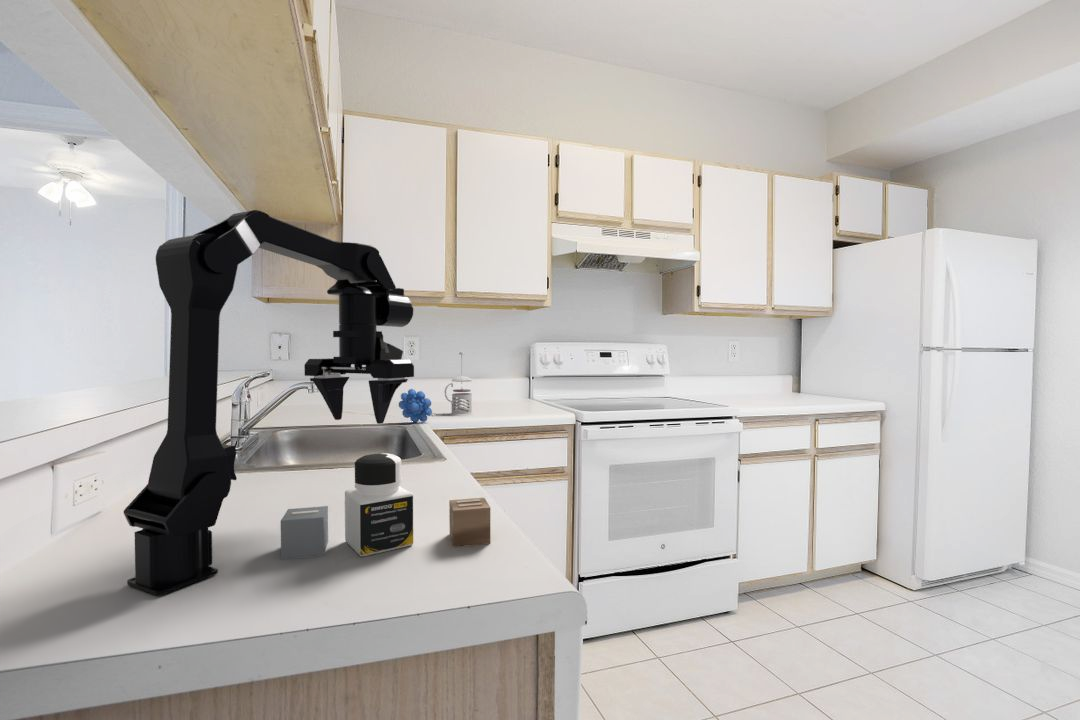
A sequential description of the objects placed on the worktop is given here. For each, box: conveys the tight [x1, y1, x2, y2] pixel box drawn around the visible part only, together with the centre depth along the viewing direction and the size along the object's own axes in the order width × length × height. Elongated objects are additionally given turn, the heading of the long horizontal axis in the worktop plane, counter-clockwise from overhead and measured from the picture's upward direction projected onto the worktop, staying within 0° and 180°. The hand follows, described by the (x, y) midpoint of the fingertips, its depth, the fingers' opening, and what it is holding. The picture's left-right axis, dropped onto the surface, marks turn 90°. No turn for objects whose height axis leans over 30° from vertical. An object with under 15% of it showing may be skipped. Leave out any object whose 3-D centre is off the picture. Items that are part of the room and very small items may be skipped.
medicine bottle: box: [344, 452, 414, 558], centre depth 71 cm, size 7×7×12 cm
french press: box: [444, 351, 475, 417], centre depth 209 cm, size 10×12×25 cm
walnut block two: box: [448, 497, 491, 548], centre depth 73 cm, size 5×5×5 cm
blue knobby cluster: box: [398, 388, 433, 423], centre depth 185 cm, size 12×7×12 cm, turn 95°
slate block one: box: [280, 505, 329, 560], centre depth 69 cm, size 5×5×5 cm
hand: (358, 421), depth 85 cm, fingers open, 9 cm apart
